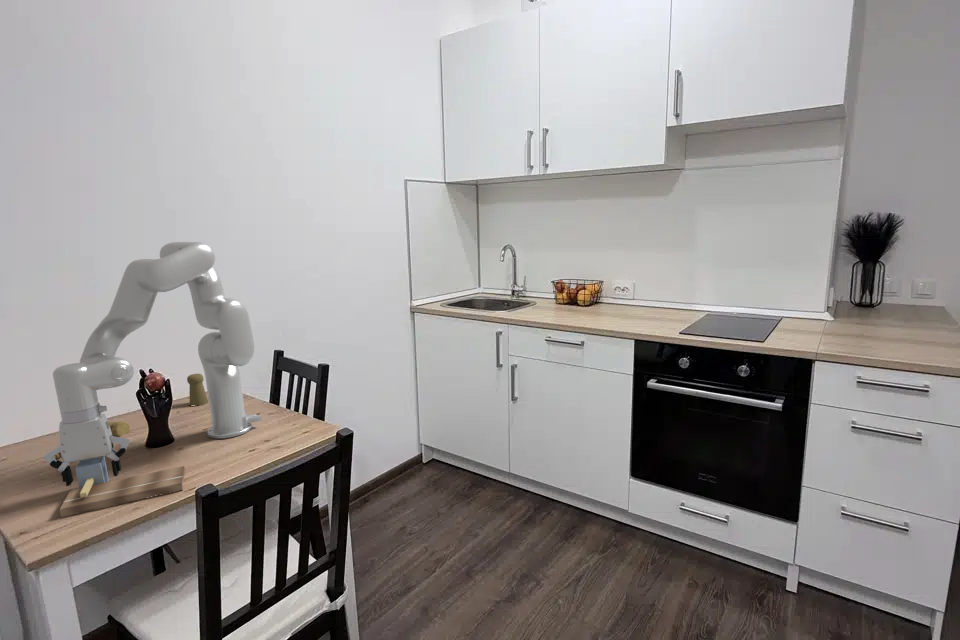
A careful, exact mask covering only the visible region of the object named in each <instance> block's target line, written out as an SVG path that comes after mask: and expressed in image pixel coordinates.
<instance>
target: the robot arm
mask: <svg viewBox="0 0 960 640" xmlns="http://www.w3.org/2000/svg"><path fill="white" fill-rule="evenodd" d="M215 261H216V256H215V253H214V251H213V249H212V247H210V246H209V245H207V244H206V243H203V242H197V241H189V242H188V241H174V242H173V241H172V242H169V243H167V244H164V245H163V246H161V248H160V250H159V258H154V259H153V258H152V259H151V258H141V259H136V260H135V259H134V260H133V261H131V262H129V264H128V265H127V266H126V268H125V270H124V272H123V275H122V277H121V281H120V282H119V283H120V284H119V286H118V288H117V291H116V294H115V296H114V298H113V302H112V304H111V306H110V308H109V309H110V310H109V312H108V314H106V316H105V317H104V318H103V319H102V320H101V321H100V323H99V324H98V325H97V327H95V328H94V330H93V331H92V333H91V334H90V336H89V337H88V339H87V341H86V343H85V346H84V348H83V351H82V354H81V357H80V360H79V362H76V363H68V364H64V365H61V366H59V367H56V368H55V369H54V370H53V372H52V377H53V384H54V387H55V393H56V398H57V402H58V407H59V413H60V417H61V421H59V425H58V440H59V441H58V442H59V445H58V446H56V447H55V448H53V449H50V451H48V452H47V453H45V454H44V455H43V457H42V458H43V459H44V460H45V462H46V463H48V464H49V466H50V467H52V468H54V469H57V470H58V472H60V473H61V478H62V482H63V483H65V486H66V487H69V486H71V485H72V483H73V482H74V477H73V472H72V468H71V466H70V463H76V462H80V461H82V460H87V459H92V458H98V457H103V456H105V457H108V458H109V459H111V463H110V464H111V468H112V475H113V477H118V475H119V472H121V471H122V465H121V457H122V456H123V455H124V454H125V453H126V450H127V448H128V446H129V443H130V439H128V438H124V437H120V436H114V435H112V432H111V429H110V426H109V423H108V422H109V420H108V418H107V416H106V414H105V413H104V412H107V411H108V407H107V405H101V404H100V402H99V398H98V397H99V396H98V392H97V391H99V390H105V389H112V388H118V387H121V386H124V385H126V384H127V383H128V382H130V381H131V380H132V378H133V377H134V373H135V371H134V367H133V365H132V363H131V361H128V360H127V359H125V358H122V357H117V356H116V353H117V351H118V348H119V347H120V345H121V343H122V342H123V340H125V339H126V337H127V336H129V335H130V334H131V333H133V332H135V331H136V330H138V329H140V328H141V327H142V326H144V325H145V324H147V322H148V321H149V317H150V315H151V312H152V308H153V306H154V304H155V301H156V299H157V295H158V293H166V292H169V291H173V290H175V289H177V288H179V287H182V286H184V285H185V284H187V285H188V288H189V292H190V295H191V299H192V304H193V309H194V314H195V318H196V321H197V323H198V324H199V326H200V327H203V328H206V329H209V330H215V331H212V332H209V333H206V334H205V335H203V336H202V337H201V338H200V340H199V342H198V345H197V351H198V356H199V360H200V362H201V365H202V369H203V372H204V377H205V383H206V390H207V391H206V392H207V400H208V405H209V410H210V411H209V413H210V419H211V420H210V421H211V427H210V428H209V429H208V430H207V436H208V437H209V438H211V439H217V440H218V439H229V438H234V437H238V436H240V435H243V434H247V432H249V431H250V430H252V428H253V423H254V422H255V423H256V422H262V414H258V415H257V413H252V414H247V411H246V410H245V403H244V402H245V401H244V397H243V395H244V394H243V386H242V380H241V379H242V378H241V373H240V369H239V367H243V366H246V365H247V364H249V363H250V362H251V360H252V359H253V357H254V353H255V344H254V342H255V341H254V337H253V333H252V332H253V331H252V325H251V322H250V317H249V312H248V310H247V308H246V306H245V305H244V304H243V303H242V302H241V301H239V300H238V299H235V298H228V297H226V295H225V292H224V288H223V285H222V280H221V277H220V275H219V273H218V272H217V270H216V269H215V267H214V264H215ZM216 330H218V331H216ZM115 444H117V445H121V447H120V448H119V450H116V449H115V448H114V447H115ZM59 452H60V453H61V458H60V459H61V460H62V461H61V460H59V459H56V458H54V456H55V455H56V454H58V453H59Z"/></svg>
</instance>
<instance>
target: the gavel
mask: <svg viewBox="0 0 960 640" xmlns="http://www.w3.org/2000/svg"><path fill="white" fill-rule="evenodd" d="M108 423H109V426H110V429H111V432H112V436H116V437H120V436H121V437H123V436H125V435H127V434H129V432H130V424H129V423H128V422H127V421H108ZM124 434H125V435H124ZM122 435H123V436H122ZM60 457H61V453H60V452H59V453H58V454H56V455H55V456H54V458H55V459H57V458H58V459H61V458H60ZM58 459H57V460H58Z"/></svg>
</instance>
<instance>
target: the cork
mask: <svg viewBox="0 0 960 640" xmlns="http://www.w3.org/2000/svg"><path fill="white" fill-rule="evenodd" d="M186 381H187V384H189V406H190V405H195V406H194V407H198V406H197V405H201V406H204V404H205V405H207V404H209V399H208V395H207V393H206V390H205V387H204V384H203V382H204V376H203V374H201V373H192V374H190V375H188V376H187V378H186ZM206 403H207V404H206Z"/></svg>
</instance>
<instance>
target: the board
mask: <svg viewBox="0 0 960 640" xmlns="http://www.w3.org/2000/svg"><path fill="white" fill-rule="evenodd" d="M184 476H186V469H185V465H183V466H177V467H174V468H169V469H163V470H159V471H154V472H148V473H143V474H138V475H134V476H130V477H129V476H128V477H124V478H120V479H115V480H109V482H104V483H99V484H94V485H92V487H91V489H90V491H89V493H88V495H87V497H85V498H84V497H82V498H81V497H80V492H81V490H82V488H83V487H80V488H79V487H76V488H72V489H70V490H69V492H68V494H67V496H66V498H65V499H64V500H63V502H62V504H61V507H59V512H60V517H61V518H65V517H69V516H75V515H78V514H82V513H87V512H91V511H97V510H101V509H105V508H109V507H113V506H119V505H122V504H123V505H124V504H127V503H132V502H131V501H133V502H136V501H135V500H137V501H140V500H139V499H142V500H144V499H143V498H146V499H148V498H147V497H151V496H155V495H160V494H164V495H167V494H166V493H169V494H171V493H170V492H173V493H175V492H174V491H178V492H180V491H179V490H182V491H183V490H184V485H183V483H185V478H184ZM160 496H161V495H160ZM155 497H156V496H155ZM151 498H152V497H151Z"/></svg>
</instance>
